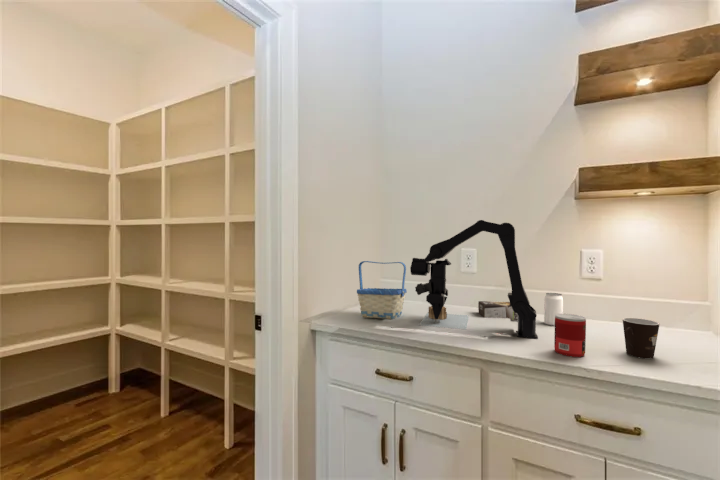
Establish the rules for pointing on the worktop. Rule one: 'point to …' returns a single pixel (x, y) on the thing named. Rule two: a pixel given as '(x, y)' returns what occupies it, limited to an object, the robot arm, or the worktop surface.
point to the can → (552, 307)
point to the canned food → (570, 335)
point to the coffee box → (497, 310)
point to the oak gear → (441, 316)
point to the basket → (381, 299)
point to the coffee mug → (640, 337)
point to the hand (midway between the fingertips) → (437, 317)
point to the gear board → (447, 321)
